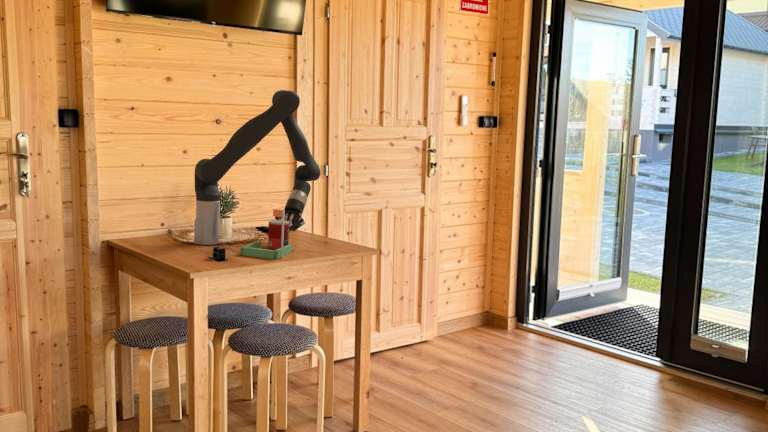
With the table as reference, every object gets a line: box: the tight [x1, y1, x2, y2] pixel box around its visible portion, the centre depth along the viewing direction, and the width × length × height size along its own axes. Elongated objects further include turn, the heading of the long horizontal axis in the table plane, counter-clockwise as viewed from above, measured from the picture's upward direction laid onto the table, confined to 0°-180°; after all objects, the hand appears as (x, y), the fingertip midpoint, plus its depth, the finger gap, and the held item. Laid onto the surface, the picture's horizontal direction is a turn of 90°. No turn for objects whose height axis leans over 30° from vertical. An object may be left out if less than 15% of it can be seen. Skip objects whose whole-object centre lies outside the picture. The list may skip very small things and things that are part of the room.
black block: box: [206, 246, 229, 263], centre depth 257 cm, size 12×7×5 cm, turn 40°
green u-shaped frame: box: [240, 208, 293, 260], centre depth 268 cm, size 16×14×18 cm
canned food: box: [267, 219, 290, 250], centre depth 278 cm, size 8×8×11 cm
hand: (283, 237), depth 282 cm, fingers closed
